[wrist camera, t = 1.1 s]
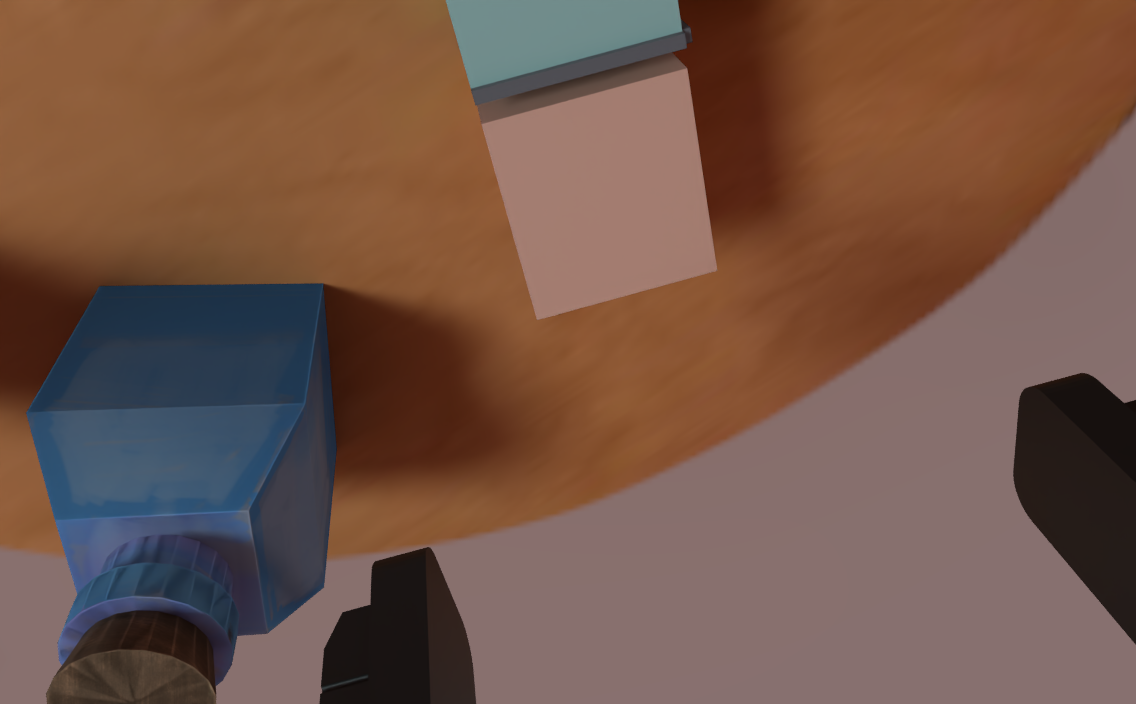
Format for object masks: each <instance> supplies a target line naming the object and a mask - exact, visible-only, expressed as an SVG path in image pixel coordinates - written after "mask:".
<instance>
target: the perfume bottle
mask: <svg viewBox="0 0 1136 704" xmlns="http://www.w3.org/2000/svg"><path fill="white" fill-rule="evenodd" d="M26 414H27V418H28V421H29V425H30V429H31V433H32V436H33V440H34V444H35V447H36V451H37V455H38V459H39V462H40V466H41V470H42V473H43V477H44V481H45V485H46V488H47V492H48V496H49V499H50V503H51V507H52V511H53V514H54V518H55V522H56V525H57V528H58V532H59V535H60V538H61V541H62V545H63V548H64V551H65V555H66V558H67V561H68V565H69V568H70V571H71V575H72V578H73V581H74V585H75V587H76V591H77V597H76V599H75V601H74V603H73V606H72V608H71V610H70V613H69V615H68V618H67V620H66V623H65V626H64V628H63V631H62V633H61V636H60V638H59V641H58V653H59V661H60V663H61V664H62V666H61V668H60V669H59V671H58V672H57V674H56V675H55V676H54V678H53V680H52V682H51V685H50V687H49V689H48V691H47V693H46V697H47V704H216V685H218V684H219V683H220V682H221V681H223V679H224V677H225V675H226V674H227V672H228V670H229V669H230V667H231V665H232V661H233V655H234V650H235V644H236V639H237V636H241V635H254V634H255V635H256V634H267V633H269V632H270V631H271V630H272V629H274V628H275V627H276V626H277V625H278V624H280V623H281V622H282V621H283V620H284V619H286V618H287V617H288V616H289V615H291V614H292V613H293V612H294V611H296V610H297V609H298V608H299V607H300V606H301V605H303V604H304V603H305V602H306V601H308V600H309V599H310V598H311V597H313V596H314V595H315V594H316V593H317V592H319V591H320V590H321V589H322V588H324V581H325V570H326V559H327V548H328V538H329V527H330V516H331V505H332V494H333V484H334V473H335V462H336V451H337V447H336V434H335V422H334V410H333V398H332V386H331V374H330V361H329V349H328V337H327V325H326V313H325V300H324V288H323V284H238V285H153V286H99V288H98V290H97V292H96V293H95V295H94V297H93V298H92V300H91V302H90V304H89V305H88V307H87V309H86V311H85V312H84V314H83V316H82V317H81V319H80V321H79V323H78V324H77V326H76V328H75V330H74V331H73V333H72V335H71V336H70V338H69V340H68V342H67V343H66V345H65V347H64V349H63V350H62V352H61V354H60V355H59V357H58V359H57V361H56V362H55V364H54V366H53V368H52V369H51V371H50V373H49V374H48V376H47V378H46V380H45V381H44V383H43V385H42V387H41V388H40V390H39V392H38V393H37V395H36V397H35V399H34V400H33V402H32V404H31V406H30V407H29V409H28V411H27V412H26Z"/></svg>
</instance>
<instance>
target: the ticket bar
mask: <svg viewBox="0 0 1136 704" xmlns="http://www.w3.org/2000/svg"><path fill="white" fill-rule="evenodd" d="M446 3H447V6H448V10H449V13H450V17H451V20H452V24H453V27H454V31H455V34H456V38H457V41H458V45H459V48H460V52H461V55H462V59H463V62H464V66H465V69H466V73H467V76H468V80H469V83H470V87H471V91H472V95H473V98H474V102H475V105H479V104H483V103H487V102H491V101H494V100H498V99H502V98H505V97H509V96H513V95H516V94H520V93H524V92H527V91H531V90H535V89H538V88H542V87H546V86H549V85H553V84H557V83H560V82H564V81H568V80H571V79H575V78H579V77H583V76H586V75H590V74H594V73H597V72H601V71H605V70H608V69H612V68H616V67H619V66H623V65H627V64H630V63H634V62H638V61H641V60H645V59H649V58H652V57H656V56H660V55H663V54H667V53H671V52H675V51H678V50H682V49H686V48H687V45H686V44H687V43H690V42H692V35H691V28H690V27H689V26H688V25H687V24H686V23H685V22H684V21H682V20H681V19H680V12H679V5H678V0H446Z"/></svg>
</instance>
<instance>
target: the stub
mask: <svg viewBox="0 0 1136 704" xmlns="http://www.w3.org/2000/svg"><path fill="white" fill-rule="evenodd" d="M477 107H478V111H479V115H480V120H481V124H482V127H483V131H484V134H485V138H486V142H487V145H488V149H489V152H490V156H491V159H492V163H493V166H494V170H495V173H496V177H497V180H498V184H499V187H500V191H501V194H502V198H503V201H504V205H505V208H506V212H507V216H508V219H509V223H510V226H511V230H512V233H513V237H514V240H515V244H516V247H517V251H518V254H519V258H520V261H521V265H522V268H523V272H524V275H525V279H526V282H527V286H528V290H529V293H530V297H531V300H532V304H533V307H534V311H535V314H536V318H537V320H539V319H543V318H546V317H550V316H554V315H557V314H561V313H565V312H568V311H572V310H575V309H579V308H583V307H586V306H590V305H594V304H597V303H601V302H605V301H608V300H612V299H616V298H619V297H623V296H626V295H630V294H634V293H637V292H641V291H645V290H648V289H652V288H656V287H659V286H663V285H666V284H670V283H674V282H677V281H681V280H685V279H688V278H692V277H696V276H699V275H703V274H707V273H710V272H714V271H717V266H716V260H715V253H714V246H713V239H712V232H711V226H710V219H709V212H708V205H707V199H706V192H705V185H704V178H703V171H702V165H701V158H700V151H699V144H698V138H697V131H696V124H695V117H694V110H693V104H692V97H691V90H690V83H689V77H688V70H687V67H686V66H685V65H684V64H683V63H682V62H681V61H680V60H679V59H678V58H677V57H676V56H675V55H674V54H673V53H672V52H671V53H667V54H663V55H660V56H656V57H652V58H649V59H645V60H641V61H638V62H634V63H630V64H627V65H623V66H619V67H616V68H612V69H608V70H605V71H601V72H597V73H594V74H590V75H586V76H583V77H579V78H575V79H571V80H568V81H564V82H560V83H557V84H553V85H549V86H546V87H542V88H538V89H535V90H531V91H527V92H524V93H520V94H516V95H513V96H509V97H505V98H502V99H498V100H494V101H491V102H487V103H483V104H479V105H477Z"/></svg>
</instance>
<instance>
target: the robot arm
mask: <svg viewBox="0 0 1136 704" xmlns="http://www.w3.org/2000/svg"><path fill="white" fill-rule="evenodd" d="M1013 473H1014V474H1013V476H1014V484H1015V488H1016V492H1017V494H1018V497H1019V500H1020V502H1021V504H1022V506H1023V508H1024V510H1025V512H1026V513H1027V515H1028V516H1029V518H1030V519H1031V520H1032V522H1033V523H1034V524H1035V525H1036V526H1037V528H1038V529H1039V530H1040V531H1041V532H1042V533H1043V535H1044V536H1045V537H1046V538H1047V540H1048V541H1049V542H1050V543H1051V544H1052V545H1053V547H1054V548H1055V549H1056V550H1057V551H1058V553H1059V554H1060V555H1061V556H1062V557H1063V559H1064V560H1065V561H1066V562H1067V563H1068V565H1069V566H1070V567H1071V568H1072V569H1073V570H1074V572H1075V573H1076V574H1077V575H1078V576H1079V578H1080V579H1081V580H1082V581H1083V582H1084V584H1085V585H1086V586H1087V587H1088V588H1089V590H1090V591H1091V592H1092V593H1093V594H1094V595H1095V597H1096V598H1097V599H1098V600H1099V601H1100V602H1101V604H1102V605H1103V606H1104V607H1105V608H1106V610H1107V611H1108V612H1109V613H1110V614H1111V616H1112V617H1113V618H1114V619H1115V620H1116V622H1117V623H1118V624H1119V625H1120V626H1121V628H1122V629H1123V630H1124V631H1125V632H1126V633H1127V635H1128V636H1129V637H1130V638H1131V639H1132V641H1133V642H1134V643H1135V644H1136V400H1134V401H1130V402H1127V403H1123V402H1122V401H1121V400H1120V399H1119V398H1118V397H1116V396H1115V395H1114V394H1113V393H1112V392H1111V391H1110V390H1108V389H1107V388H1106V387H1105V386H1104V385H1103V384H1101V383H1100V382H1099V381H1098V380H1097V379H1096V378H1094V377H1093V376H1091V375H1089V374H1085V373H1080V374H1076V375H1072V376H1068V377H1065V378H1061V379H1057V380H1054V381H1050V382H1046V383H1043V384H1039V385H1035V386H1032V387H1028V388H1026V389H1024V390H1023V392H1022V393H1021V396H1020V400H1019V410H1018V422H1017V434H1016V446H1015V458H1014V471H1013ZM321 688H322V694H320V704H476V697H475V684H474V674H473V663H472V657H471V651H470V646H469V642H468V638H467V634H466V630H465V627H464V624H463V621H462V619H461V616H460V614H459V612H458V609H457V607H456V604H455V602H454V600H453V597H452V595H451V593H450V590H449V588H448V585H447V583H446V581H445V578H444V576H443V573H442V571H441V569H440V567H439V564H438V562H437V560H436V557H435V555H434V553H433V551H432V550H431V548H429V547H427V548H423V549H419V550H416V551H412V552H408V553H405V554H401V555H397V556H394V557H390V558H386V559H382V560H379V561H375V562H374V564H373V566H372V577H371V605H368V606H364V607H360V608H357V609H353V610H350V611H346V612H343V613H342V615H341V616H340V618H339V620H338V622H337V624H336V626H335V629H334V631H333V633H332V634H331V636H330V638H329V640H328V642H327V645H326V647H325V648H324V658H323V669H322V680H321Z"/></svg>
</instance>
